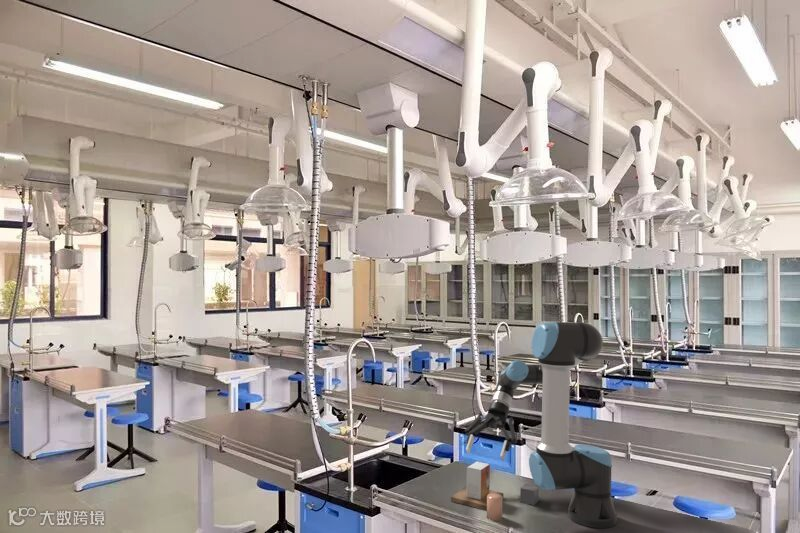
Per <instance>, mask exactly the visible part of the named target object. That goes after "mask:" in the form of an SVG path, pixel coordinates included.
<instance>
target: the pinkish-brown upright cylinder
mask: <svg viewBox="0 0 800 533" xmlns="http://www.w3.org/2000/svg"><path fill="white" fill-rule="evenodd" d="M487 518H488V520H489V519H490V520H489V521H491V520H495V521H494V522H498V521H499V520H500V521H502V520H503V498H502V496H501V495H499V494H495V493H492V494H488V495H487V510H486V519H487Z"/></svg>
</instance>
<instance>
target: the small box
mask: <svg viewBox="0 0 800 533" xmlns="http://www.w3.org/2000/svg"><path fill="white" fill-rule="evenodd" d="M490 471H491V464H490V463H487V462H486V463H485V462H481V461H475V462H474V463H472V464H470V465H469V466H467V467H466V486H467V497H470V498H474V499H479V500H481V499H482V498H484V497H485V496H486V495H488V494H489V490H490V482H491V480H490V475H491V474H490V473H491V472H490Z"/></svg>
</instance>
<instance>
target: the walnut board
mask: <svg viewBox="0 0 800 533" xmlns="http://www.w3.org/2000/svg"><path fill="white" fill-rule="evenodd" d="M492 493H495V494H499V495H501V496H502V499H504V492H499V491H495V490H491V489H489V494H492ZM450 502H452V503H456V504H460V505H464V506H469V507H471V508H472V507H473V508H476V509H480V510H484V511H487V495H486V496H485V497H484V498H482V499H481V500H479V499H474V498H470V497H467V485H466V486H464V487H463V488H462V489H460V490H459V491H458V492H456V493H455V494H453V495H451V497H450Z"/></svg>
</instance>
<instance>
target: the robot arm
mask: <svg viewBox="0 0 800 533" xmlns="http://www.w3.org/2000/svg"><path fill="white" fill-rule="evenodd" d="M603 344H604V341H603V337H602V333H600V331H599V329H597V328H596V327H595V326H594V325H592V324H589V323H587V322H583V321H581V322H579V321H576V322H572V321H571V322H568V321H567V322H566V321H565V322H564V321H561V322H560V321H550V322H549V321H548V322H541V323H540V324H538V325H537V326H536V328H535V330H534V331H533V334H532V338H531V350H532V355H533V356H534V357H535V358H536V359H537V360H538V361H537V362H538V364H534V363H533V364H526V362H524V361H522V360H520V359H519V360H518V359H516V360H512V362H510V363H509V365H508V366H507V367H506V369H505V370H502V371H501V372H500V375H499V376H498V380H497V383H496V386H495V390H494V393H493V395H492V398H491V402H490V405H489V407H488V410H487V413H486V414H483V413H482V412H479V413H478V415H477V416H476V418H475V419H474V420H473V421H472V422H471V423H470V424H469V425H468V426H467V427H466V428H465V429H464V432H465V434H466V436H467V437H466V447H465V451H466V454H470V453H471V450H472V447H473V444H474V441H475V439H476V438H475V436H477V435H478V434H480V433H482V432H483V431H484V430H486V429H488V428H491V429H493V428H494V429H497V430H498V429H500V430H501V431H502V434H503V435H504V437H505V440H504V441H503V445H502V447H501V451H500V453H499V454H500V455H499V457H500V458H501V461H505V457H506V455H507V452H510V450H511V445H512V444H517V443H518V439H517V435H516V431H515V427H514V424H515V421H514V419H513V417H512V416H511V417H509V418H508V415H509V412H510V408H511V405H512V402H513V399H514V396H515V393H516V391H517V389H518V388H519V387H520V385H542V387H541V389H542V392H541V393H542V396H541V397H542V399H541V400H542V401H541V435H540V436H541V438H540V439H541V440H540V441H539V442H538V443H536V447H535V448H536V449H535V451H533V452H531V453H530V454H529V457H528V467H529V472H530V475H531V478H532V480H533V482H534V484H535V486H538V487H539V490H540V489H541V490H543V491H549V490H550V491H556V490H573V494H572V496H571V499H570V502H569V505H568V509H567V513H568V514H567V515H568V518H569V519H570V520H571V521H573V522H574V523H577V524H579V525H582V526H584V527H590V528H595V529H596V528H598V529H606V528H611V527H613V526H616V524H617V521H618V520H617V512H616V509H615V505H614V502H613V499H612V467H613V465H612V464H613V463H612V455H611V454H610V452H609V451H608V450H606V449H604V448H602V447H599V446H596V445H595V446H594V445H591V444H586V443H585V444H584V443H578V444H575V445H574V447H573V446H572V445H571V444H570V443H569V439H570V438H569V437H570V436H569V432H570V427H569V426H570V425H569V424H570V390H571V389H570V387H571V379H570V378H571V370H572V369H574V368H575V367H576V366H578V365H579V364H580V363H581V364H582V362H589V361H592V360H593V359H595V358H596V357H597V356H598V355H599V354H600V353H601V352H602V349H603ZM505 424H508V426H509V430H510V435H511V437H510V435H509V433H508V431H507V430H506V428H505V426H504V425H505Z"/></svg>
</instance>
